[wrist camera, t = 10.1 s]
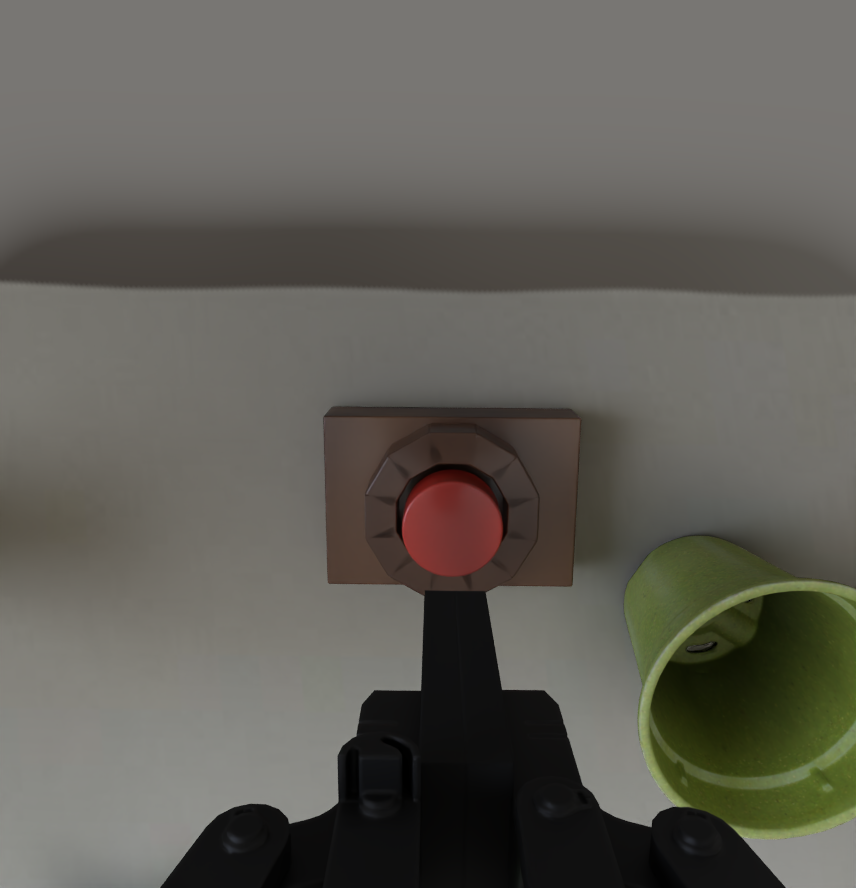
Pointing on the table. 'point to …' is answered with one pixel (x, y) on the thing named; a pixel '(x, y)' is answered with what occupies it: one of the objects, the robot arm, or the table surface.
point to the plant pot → (746, 688)
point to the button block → (442, 448)
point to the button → (452, 523)
